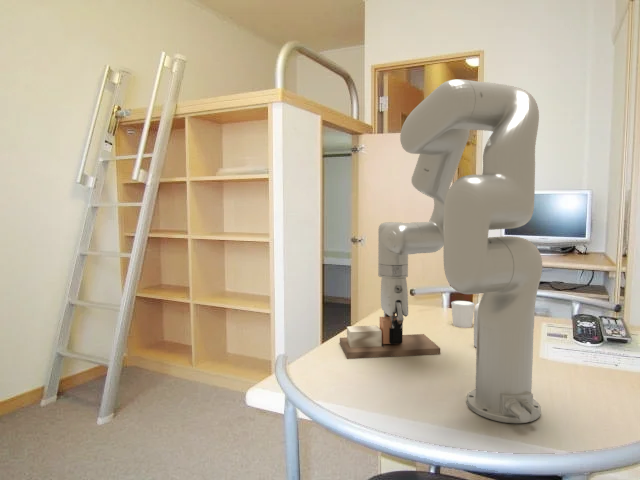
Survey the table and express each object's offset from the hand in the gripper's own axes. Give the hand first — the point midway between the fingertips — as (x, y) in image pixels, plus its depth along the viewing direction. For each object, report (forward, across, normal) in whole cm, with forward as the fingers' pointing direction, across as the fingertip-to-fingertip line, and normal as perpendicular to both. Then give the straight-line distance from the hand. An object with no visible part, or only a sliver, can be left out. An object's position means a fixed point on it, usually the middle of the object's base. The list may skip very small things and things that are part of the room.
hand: (392, 339), depth 115 cm
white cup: (+3, +18, -27) cm, 33 cm away
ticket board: (+2, 0, +1) cm, 3 cm away
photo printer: (+3, -5, -25) cm, 26 cm away
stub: (+1, 0, +1) cm, 1 cm away
